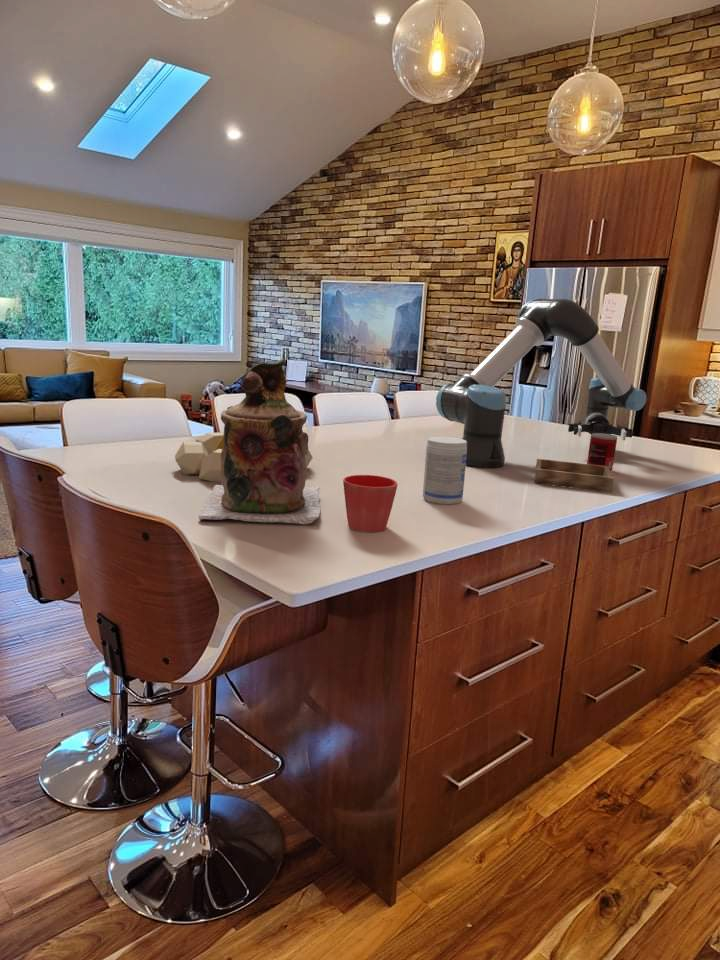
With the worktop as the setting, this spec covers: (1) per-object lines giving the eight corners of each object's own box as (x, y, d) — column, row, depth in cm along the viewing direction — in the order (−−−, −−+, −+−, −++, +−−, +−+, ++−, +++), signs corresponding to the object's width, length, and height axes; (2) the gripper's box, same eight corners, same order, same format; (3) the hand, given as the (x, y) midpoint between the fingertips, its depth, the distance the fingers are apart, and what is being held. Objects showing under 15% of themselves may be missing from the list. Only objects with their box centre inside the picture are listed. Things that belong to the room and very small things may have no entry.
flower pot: (366, 515, 138) (369, 471, 136) (404, 529, 131) (408, 482, 128) (329, 524, 131) (332, 477, 129) (367, 538, 123) (371, 490, 121)
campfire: (208, 452, 192) (208, 395, 188) (320, 463, 188) (322, 404, 184) (156, 479, 158) (155, 410, 154) (291, 492, 154) (293, 421, 150)
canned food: (608, 468, 204) (613, 434, 202) (615, 473, 196) (620, 438, 194) (583, 466, 205) (588, 432, 202) (589, 471, 197) (594, 436, 194)
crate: (534, 483, 177) (536, 469, 176) (535, 471, 192) (537, 458, 191) (611, 492, 172) (613, 478, 171) (606, 479, 187) (608, 466, 186)
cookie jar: (214, 491, 150) (214, 351, 143) (319, 495, 152) (325, 358, 145) (195, 523, 127) (195, 358, 119) (320, 527, 129) (328, 365, 121)
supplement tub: (468, 505, 151) (474, 444, 147) (429, 506, 149) (435, 443, 145) (453, 494, 160) (459, 436, 157) (416, 494, 158) (421, 435, 154)
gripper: (633, 438, 225) (641, 449, 205) (559, 432, 232) (560, 441, 212) (636, 417, 223) (645, 426, 203) (561, 411, 230) (563, 419, 210)
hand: (602, 434), depth 208 cm, fingers open, 13 cm apart
